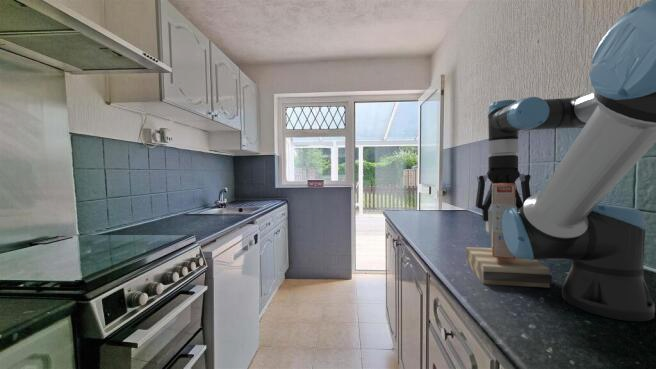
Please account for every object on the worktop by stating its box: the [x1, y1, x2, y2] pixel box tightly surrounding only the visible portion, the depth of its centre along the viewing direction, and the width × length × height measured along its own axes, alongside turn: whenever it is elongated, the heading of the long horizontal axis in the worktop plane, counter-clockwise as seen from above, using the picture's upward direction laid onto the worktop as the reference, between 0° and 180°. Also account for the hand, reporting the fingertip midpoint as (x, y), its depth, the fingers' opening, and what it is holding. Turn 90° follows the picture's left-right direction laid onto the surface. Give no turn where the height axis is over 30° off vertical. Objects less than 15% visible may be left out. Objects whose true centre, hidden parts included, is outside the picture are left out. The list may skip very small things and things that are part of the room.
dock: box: [465, 246, 553, 289], centre depth 86 cm, size 20×16×5 cm
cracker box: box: [490, 182, 517, 259], centre depth 86 cm, size 14×6×21 cm, turn 151°
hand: (502, 232), depth 86 cm, fingers closed on cracker box, 7 cm apart
